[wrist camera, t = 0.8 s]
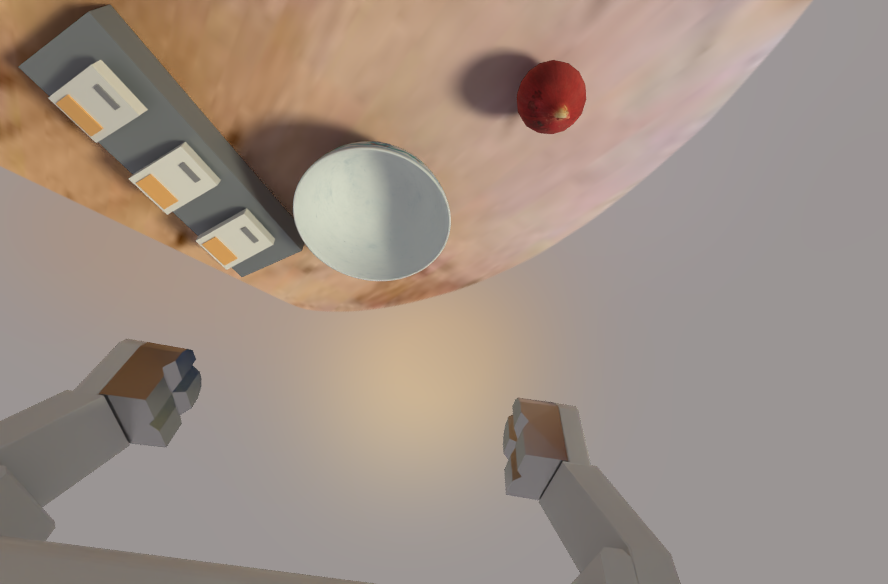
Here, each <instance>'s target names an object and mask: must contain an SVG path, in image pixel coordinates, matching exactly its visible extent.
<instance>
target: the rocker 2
mask: <svg viewBox="0 0 888 584" xmlns="http://www.w3.org/2000/svg"><path fill="white" fill-rule="evenodd" d="M129 180H130V181H131V182H132V183H133V184H134V185H136V186H137V187H138V188H139V189H140V190H141V191H142V192H143V193H144V194H145V195H146V196H147V197H149V198H150V199H151V200H152V201H153V202H154V203H155V204H156V205H157V206H158V207H159V208H160V209H161V210H163V211H164V212H165V213H166V214H167V215H168V214H169V213H171V212H173V211H175V210H176V209H178V208H180V207H181V206H183V205H185V204H186V203H188V202H190V201H192V200H193V199H195V198H197V197H198V196H200V195H202V194H204V193H205V192H207V191H209V190H210V189H212V188H214V187H215V186H217V185H218V184H219V182H220V181H221V180H220V179H219V177H218V176H217V175H216V174H215V173H214V172H213V171H212V170H211V169H210V168H209V167H208V166H207V164H206V163H205V162H204V161H203V160H202V159H201V158H200V157H199V156H198V155H197V154H196V152H195V151H194V150H193V149H192V148H191V147H190V146H189V145H188V144H187V143H186V142H184V143H182V144H181V145H179V146H177V147H176V148H174V149H173V150H171V151H169V152H168V153H166V154H165V155H163V156H161V157H160V158H158V159H157V160H155V161H153V162H152V163H150V164H149V165H147V166H145V167H144V168H142V169H141V170H139V171H137V172H136V173H134V174H133V175H132V176H131V177H130V178H129Z"/></svg>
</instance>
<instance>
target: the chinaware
mask: <svg viewBox="0 0 888 584" xmlns="http://www.w3.org/2000/svg"><path fill="white" fill-rule="evenodd" d="M293 215H294V221H295V224H296V227H297V230H298V232H299V234H300V236H301V238H302V240H303V241H304V243H305V244H306V246H307V247H308V248H309V249H310V251H311V252H312V253H313V254H314V255H315V256H316V257H317V258H319V259H320V260H321V261H322V262H323V263H325V264H326V265H328V266H329V267H331V268H333V269H335V270H336V271H338V272H341V273H343V274H345V275H348V276H351V277H354V278H358V279H363V280H370V281H390V280H397V279H401V278H405V277H408V276H411V275H413V274H415V273H418V272H419V271H421V270H423V269H424V268H426V267H427V266H429V265H430V264H431V263H432V262H433V261H434V260H435V259H436V258H437V257H438V256H439V254H440V253H441V252H442V250H443V248H444V247H445V245H446V242H447V240H448V237H449V233H450V226H451V216H450V209H449V205H448V201H447V198H446V196H445V193H444V191H443V189H442V187H441V185H440V183H439V182H438V180H437V179H436V177H435V176H434V174H433V173H432V172H431V171H430V169H429V168H428V167H427V166H426V165H425V164H424V163H423V162H422V161H420V160H419V159H418V158H417V157H415V156H414V155H412V154H411V153H409V152H407V151H406V150H404V149H401V148H399V147H397V146H394V145H391V144H387V143H382V142H373V141H364V142H355V143H350V144H347V145H343V146H341V147H338V148H336V149H334V150H332V151H330V152H328V153H327V154H325V155H323V156H322V157H321V158H319V159H318V160H317V161H316V162H314V163H313V164H312V165H311V166H310V167H309V168H308V169H307V171H306V172H305V173H304V175H303V176H302V178H301V179H300V181H299V183H298V185H297V188H296V190H295V194H294V199H293Z"/></svg>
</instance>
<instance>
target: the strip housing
mask: <svg viewBox="0 0 888 584" xmlns="http://www.w3.org/2000/svg"><path fill="white" fill-rule="evenodd" d="M99 60H102V61H103V62H104V63H105V64H106V65H107V66H108V67H109V69H110V70H111V71H112V72H113V73H114V74H115V75H116V76H117V77H118V78H119V79H120V80H121V81H122V82H123V83H124V85H125V86H126V87H127V88H128V89H129V90H130V91H131V92H132V93H133V94H134V95H135V96H136V97H137V98H138V100H139V101H140V102H141V103H142V104H143V105H144V106H145V107H146V108H147V109H148V110H147V111H145V112H144V113H142V114H141V115H140V116H138V117H137V118H135V119H133V120H132V121H130V122H129V123H127V124H126V125H124V126H122V127H121V128H119V129H118V130H116V131H115V132H113V133H111V134H110V135H108V136H107V137H105V138H104V139H102V140H100V141H99V143H100V144H101V145H102V146H103V147H104V148H105V149H106V150H107V151H108V152H109V153H110V154H111V155H113V156H114V157H115V158H116V159H117V160H118V161H119V162H120V163H121V164H122V165H123V166H124V167H125V168H126V169H127V170H128V171H130V172H131V173H132V174H134V173H136V172H137V171H139V170H141V169H142V168H144V167H145V166H147V165H149V164H150V163H152V162H153V161H155V160H157V159H158V158H160V157H161V156H163V155H165V154H166V153H168V152H169V151H171V150H173V149H174V148H176V147H177V146H179V145H181V144H182V143H184V142H186V143H187V144H188V145H189V146H190V147H191V148H192V149H193V150H194V151H195V152H196V154H197V155H198V156H199V157H200V158H201V159H202V160H203V161H204V162H205V163H206V164H207V166H208V167H209V168H210V169H211V170H212V171H213V172H214V173H215V174H216V175H217V176H218V177H219V179H220V180H221V181H220V182H219V184H218V185H217V186H215V187H214V188H212V189H210V190H209V191H207V192H205V193H204V194H202V195H200V196H198V197H197V198H195V199H193V200H192V201H190V202H188V203H186V204H185V205H183V206H181V207H180V208H178V209H176V210H175V211H173V213H174V214H175V215H176V216H177V217H178V218H180V219H181V220H182V221H183V222H184V223H185V224H186V225H187V226H188V227H189V228H190V229H191V230H192V231H193V232H194V233H196V234H197V235H198V236H199V235H200V234H202V233H204V232H205V231H207V230H209V229H211V228H212V227H214V226H216V225H218V224H220V223H221V222H223V221H225V220H227V219H228V218H230V217H232V216H234V215H235V214H237V213H239V212H241V211H242V210H244V209H246V208H247V209H248V210H249V211H250V212H251V213H252V214H253V215H254V216H255V218H256V219H257V220H258V221H259V222H260V223H261V224H262V225H263V226H264V227H265V228H266V230H267V231H268V232H269V233H270V234H271V235H272V236H273V237H274V238H275V241H274V244H273V245H272V246H270V247H268V248H266V249H264V250H263V251H261V252H259V253H257V254H255V255H253V256H251V257H250V258H248V259H246V260H244V261H242V262H240V263H238V264H237V265H235V266H233V267H232V268H233V269H234V270H235V271H236V272H237V273H238V274H239V275H240V276H241V277H244V276H246V275H248V274H250V273H253V272H255V271H257V270H259V269H262V268H264V267H266V266H268V265H271V264H273V263H275V262H277V261H280V260H282V259H284V258H286V257H289V256H291V255H293V254H295V253H298V252H300V251H302V249H303V246H304V244H305V243H304V241H303V240H302V238H301V236H300V234H299V232H298V230H297V227H296V224H295V221H294V219H293V218H292V217H291V216H290V214H289V213H288V212H287V211H286V210H285V209H284V207H283V206H282V205H281V204H280V203H279V201H278V200H277V199H276V198H275V197H274V196H273V194H272V193H271V192H270V191H269V190H268V189H267V187H266V186H265V185H264V184H263V183H262V182H261V180H260V179H259V178H258V177H257V176H256V175H255V173H254V172H253V171H252V170H251V169H250V168H249V166H248V165H247V164H246V163H245V162H244V161H243V159H242V158H241V157H240V156H239V155H238V153H237V152H236V151H235V150H234V149H233V148H232V146H231V145H230V144H229V143H228V142H227V141H226V139H225V138H224V137H223V136H222V135H221V134H220V132H219V131H218V130H217V129H216V128H215V127H214V125H213V124H212V123H211V122H210V121H209V120H208V118H207V117H206V116H205V115H204V114H203V113H202V111H201V110H200V109H199V108H198V107H197V105H196V104H195V103H194V102H193V101H192V100H191V98H190V97H189V96H188V95H187V94H186V93H185V91H184V90H183V89H182V88H181V87H180V86H179V84H178V83H177V82H176V81H175V80H174V79H173V77H172V76H171V75H170V74H169V73H168V72H167V70H166V69H165V68H164V67H163V66H162V64H161V63H160V62H159V61H158V60H157V59H156V57H155V56H154V55H153V54H152V53H151V52H150V50H149V49H148V48H147V47H146V46H145V45H144V43H143V42H142V41H141V40H140V39H139V38H138V36H137V35H136V34H135V33H134V32H133V31H132V29H131V28H130V27H129V26H128V25H127V24H126V22H125V21H124V20H123V19H122V18H121V16H120V15H119V14H118V13H117V12H116V11H115V9H114V8H113V7H112V6H111V5H107V6H104V7H101V8H98V9H95V10H92V11H89V12H87V13H86V14H85V15H83V16H82V17H81V18H80V19H78V20H77V21H76V22H75V23H73V24H72V25H71V26H69V27H68V28H67V29H66V30H64V31H63V32H62V33H61V34H59V35H58V36H57V37H55V38H54V39H53V40H52V41H50V42H49V43H48V44H47V45H45V46H44V47H43V48H41V49H40V50H39V51H38V52H36V53H35V54H34V55H33V56H31V57H30V58H29V59H27V60H26V61H25V62H24V63H22V64H21V65H20V66H19V68H20V69H21V70H22V71H23V72H24V73H25V74H26V75H27V76H28V77H29V78H31V79H32V80H33V81H34V82H35V83H36V84H37V85H38V86H39V87H40V88H41V89H42V90H43V91H44V92H45V93H47V94H48V95H49V96H51V95H52V94H54V93H55V92H56V91H58V90H59V89H60V88H61V87H63V86H64V85H65V84H67V83H68V82H69V81H71V80H72V79H73V78H75V77H76V76H77V75H78V74H80V73H81V72H82V71H84V70H85V69H86V68H88V67H89V66H90V65H92V64H94V63H96V62H98V61H99Z"/></svg>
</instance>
